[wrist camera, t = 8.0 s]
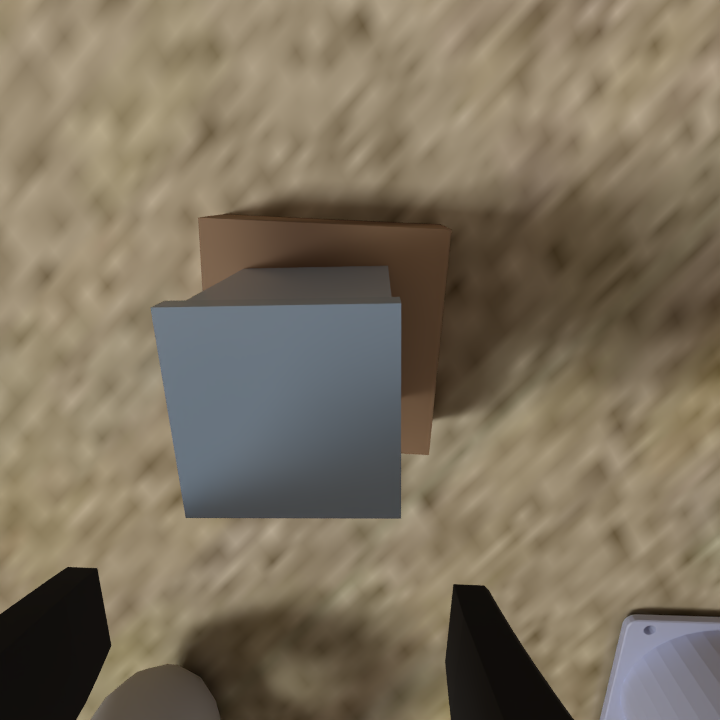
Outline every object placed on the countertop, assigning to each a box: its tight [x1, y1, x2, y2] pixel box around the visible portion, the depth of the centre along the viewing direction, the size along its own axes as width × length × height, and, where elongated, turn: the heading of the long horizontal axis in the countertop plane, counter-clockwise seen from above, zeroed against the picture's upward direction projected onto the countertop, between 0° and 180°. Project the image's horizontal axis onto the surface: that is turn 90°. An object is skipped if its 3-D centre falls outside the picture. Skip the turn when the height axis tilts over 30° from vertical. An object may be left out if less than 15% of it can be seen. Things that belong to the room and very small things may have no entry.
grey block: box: [151, 266, 401, 518], centre depth 13 cm, size 5×5×6 cm
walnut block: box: [198, 214, 452, 455], centre depth 17 cm, size 8×8×3 cm
